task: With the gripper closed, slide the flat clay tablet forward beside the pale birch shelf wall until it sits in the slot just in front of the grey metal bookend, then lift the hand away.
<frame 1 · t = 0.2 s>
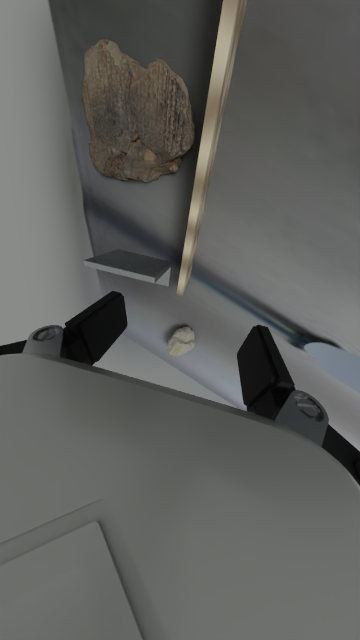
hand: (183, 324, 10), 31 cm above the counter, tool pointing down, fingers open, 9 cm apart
fossil replica: (183, 334, 53), on the counter
shelf wall: (204, 189, 28), on the counter
bookend: (144, 257, 39), on the counter
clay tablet: (145, 134, 26), on the counter
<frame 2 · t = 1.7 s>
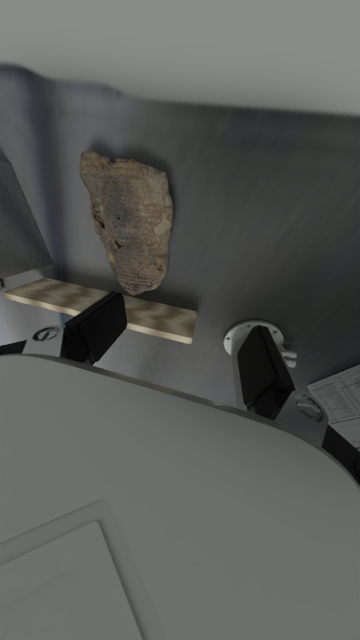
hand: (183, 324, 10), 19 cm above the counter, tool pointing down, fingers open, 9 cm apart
shelf wall: (117, 296, 34), on the counter
bookend: (33, 222, 27), on the counter
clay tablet: (138, 241, 26), on the counter
supplement box: (350, 384, 35), on the counter
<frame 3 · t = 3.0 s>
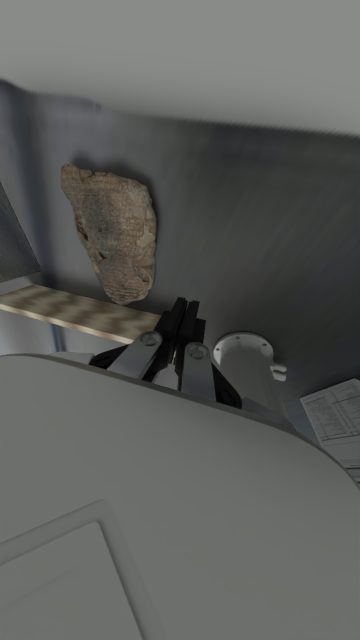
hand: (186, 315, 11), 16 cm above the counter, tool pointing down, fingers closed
shelf wall: (106, 304, 33), on the counter
bookend: (20, 230, 27), on the counter
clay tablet: (124, 251, 25), on the counter
supplement box: (343, 398, 34), on the counter
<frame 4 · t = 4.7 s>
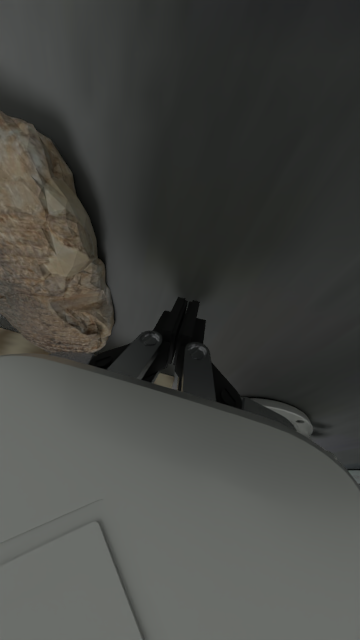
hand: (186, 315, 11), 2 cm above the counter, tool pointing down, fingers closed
shelf wall: (55, 345, 22), on the counter
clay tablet: (58, 275, 14), on the counter
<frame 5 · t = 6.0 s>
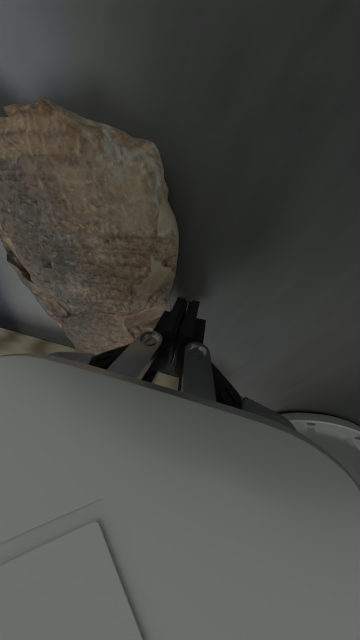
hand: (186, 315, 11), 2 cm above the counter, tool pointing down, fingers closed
shelf wall: (93, 356, 22), on the counter
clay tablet: (113, 288, 14), on the counter, touching gripper
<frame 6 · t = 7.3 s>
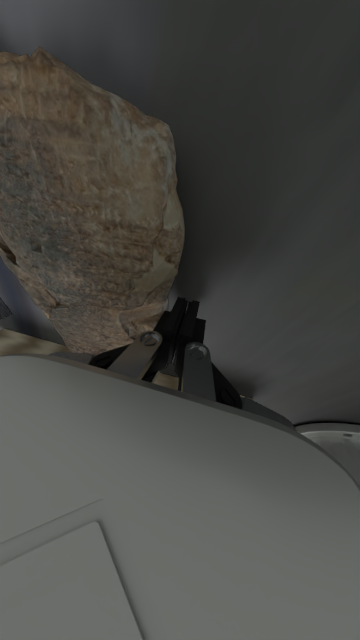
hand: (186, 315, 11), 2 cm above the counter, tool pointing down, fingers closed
shelf wall: (117, 363, 21), on the counter
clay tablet: (108, 279, 13), on the counter
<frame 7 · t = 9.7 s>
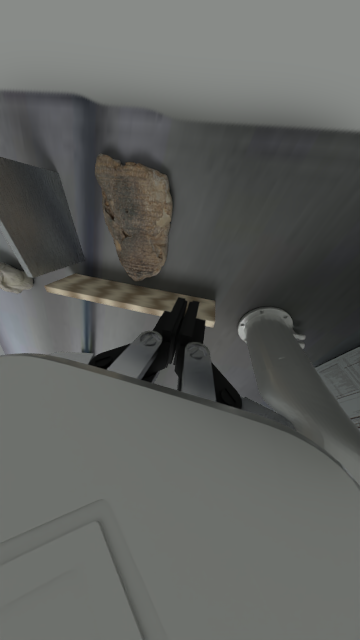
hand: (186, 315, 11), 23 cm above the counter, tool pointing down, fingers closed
fossil replica: (20, 273, 44), on the counter
shelf wall: (141, 289, 38), on the counter
bookend: (71, 223, 31), on the counter
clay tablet: (141, 232, 30), on the counter
supplement box: (353, 366, 38), on the counter
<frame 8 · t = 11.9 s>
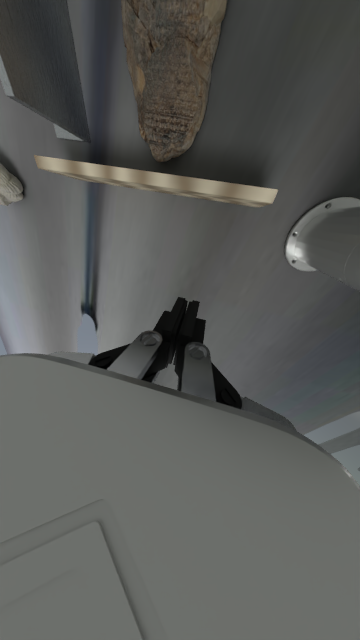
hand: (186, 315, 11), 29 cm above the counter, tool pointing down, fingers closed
fossil replica: (8, 180, 35), on the counter
shelf wall: (163, 187, 29), on the counter
bookend: (74, 65, 22), on the counter
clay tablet: (172, 73, 21), on the counter
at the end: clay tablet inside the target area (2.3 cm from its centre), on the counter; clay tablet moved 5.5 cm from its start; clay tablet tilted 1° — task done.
